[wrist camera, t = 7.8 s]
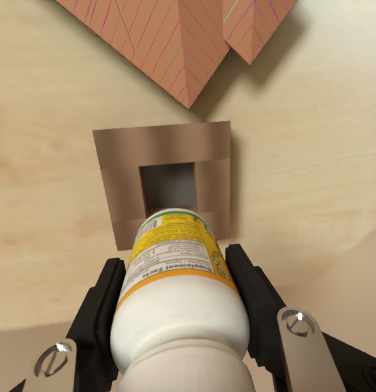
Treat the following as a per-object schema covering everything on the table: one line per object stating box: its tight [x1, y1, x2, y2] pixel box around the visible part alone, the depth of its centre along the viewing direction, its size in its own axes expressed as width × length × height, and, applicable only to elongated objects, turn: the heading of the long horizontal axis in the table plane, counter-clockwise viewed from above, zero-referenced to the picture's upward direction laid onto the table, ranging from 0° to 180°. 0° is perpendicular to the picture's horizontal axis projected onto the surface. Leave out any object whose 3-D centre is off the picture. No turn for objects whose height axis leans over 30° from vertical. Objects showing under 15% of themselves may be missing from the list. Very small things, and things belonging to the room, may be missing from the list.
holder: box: [92, 121, 230, 251], centre depth 27 cm, size 16×16×4 cm
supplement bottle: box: [110, 208, 256, 392], centre depth 9 cm, size 5×5×10 cm
